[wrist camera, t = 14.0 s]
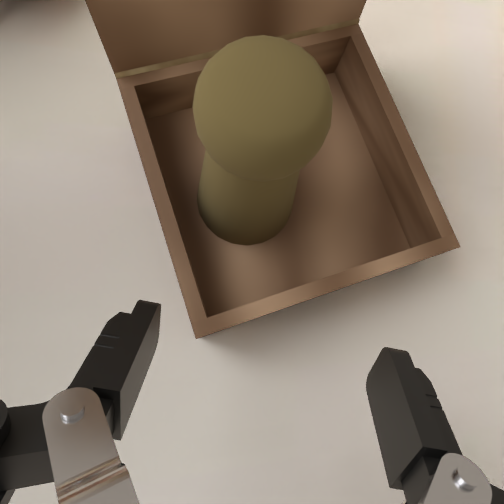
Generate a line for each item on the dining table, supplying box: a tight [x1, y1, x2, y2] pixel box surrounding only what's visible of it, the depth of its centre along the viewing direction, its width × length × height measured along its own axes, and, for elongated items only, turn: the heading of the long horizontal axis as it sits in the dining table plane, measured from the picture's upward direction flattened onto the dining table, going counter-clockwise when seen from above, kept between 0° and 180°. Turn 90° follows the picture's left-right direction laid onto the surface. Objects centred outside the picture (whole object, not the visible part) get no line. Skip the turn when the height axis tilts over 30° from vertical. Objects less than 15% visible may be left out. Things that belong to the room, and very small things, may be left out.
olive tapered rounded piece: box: [192, 35, 333, 246], centre depth 17 cm, size 6×6×11 cm
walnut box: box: [117, 24, 460, 339], centre depth 22 cm, size 15×15×4 cm
